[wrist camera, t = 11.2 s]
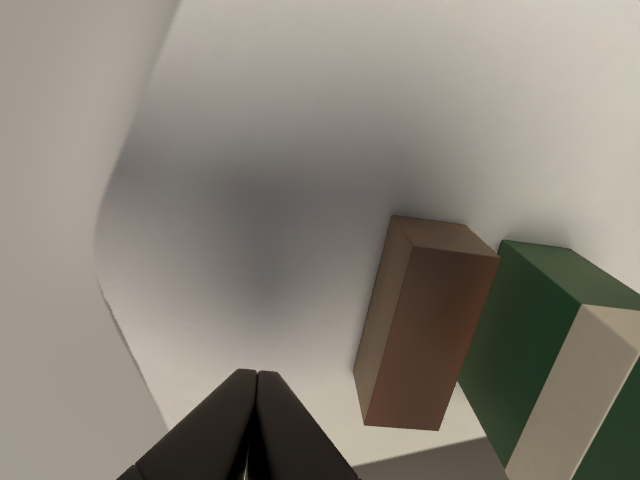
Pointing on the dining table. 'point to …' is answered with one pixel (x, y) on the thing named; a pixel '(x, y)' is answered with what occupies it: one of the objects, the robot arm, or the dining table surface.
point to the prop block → (421, 321)
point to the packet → (557, 367)
